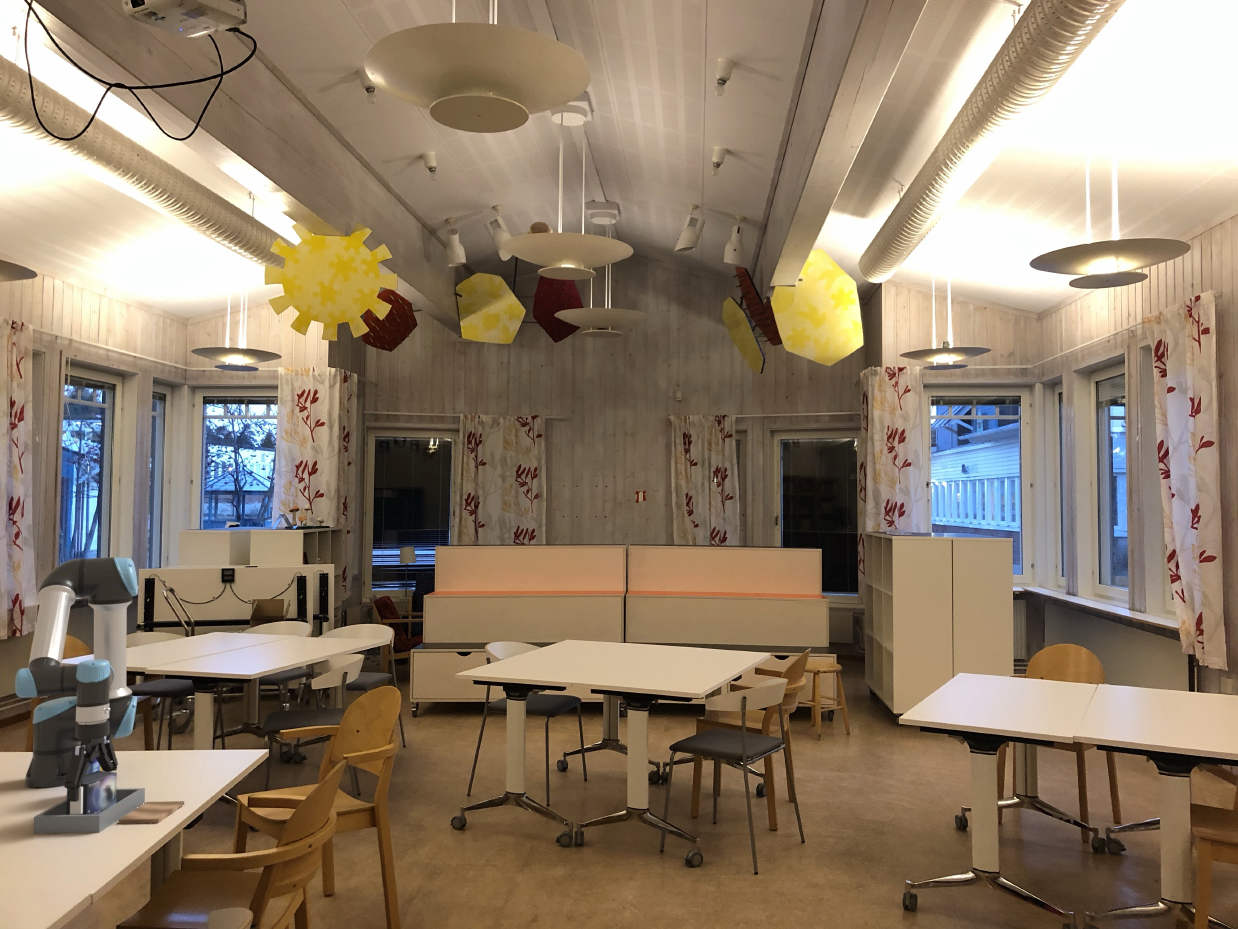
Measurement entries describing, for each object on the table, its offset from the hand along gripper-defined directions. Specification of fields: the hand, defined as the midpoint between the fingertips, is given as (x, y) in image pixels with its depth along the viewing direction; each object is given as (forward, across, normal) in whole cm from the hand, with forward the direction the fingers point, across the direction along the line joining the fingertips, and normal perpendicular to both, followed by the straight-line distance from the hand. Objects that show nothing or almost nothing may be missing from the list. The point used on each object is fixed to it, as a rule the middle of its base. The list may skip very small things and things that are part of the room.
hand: (91, 805), depth 236 cm
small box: (+3, 0, 0) cm, 3 cm away
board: (+3, +2, -14) cm, 15 cm away
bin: (+3, 0, 0) cm, 3 cm away
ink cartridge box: (+3, +17, +11) cm, 20 cm away
